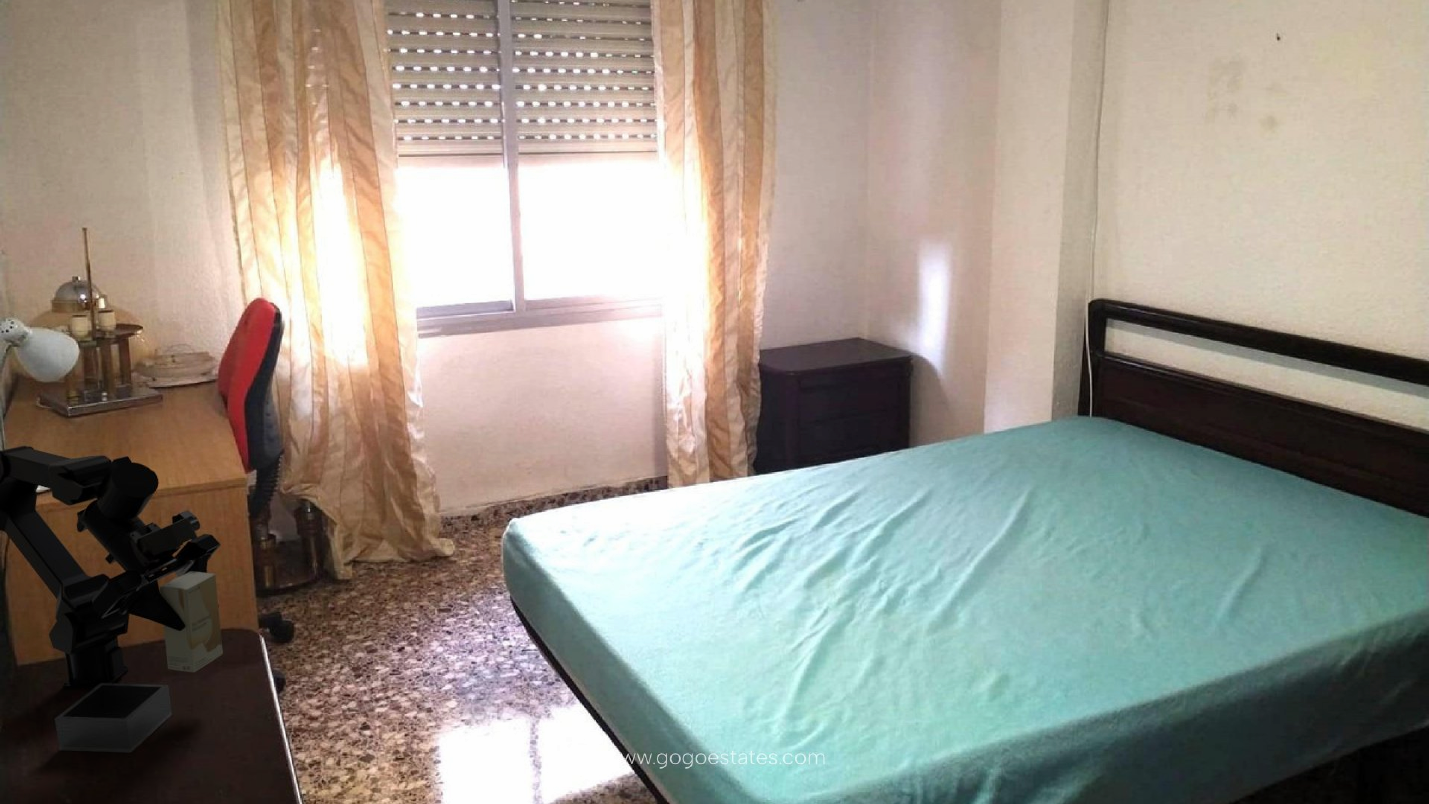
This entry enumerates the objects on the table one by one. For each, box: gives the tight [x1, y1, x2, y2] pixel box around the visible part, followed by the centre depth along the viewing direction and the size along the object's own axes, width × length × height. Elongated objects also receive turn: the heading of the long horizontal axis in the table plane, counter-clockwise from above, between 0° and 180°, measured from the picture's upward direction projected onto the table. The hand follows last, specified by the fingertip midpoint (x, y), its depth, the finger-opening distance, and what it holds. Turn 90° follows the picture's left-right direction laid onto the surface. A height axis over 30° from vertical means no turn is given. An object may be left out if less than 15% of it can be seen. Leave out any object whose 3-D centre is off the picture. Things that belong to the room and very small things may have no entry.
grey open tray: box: [54, 682, 173, 753], centre depth 142 cm, size 10×10×4 cm
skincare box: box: [159, 571, 224, 673], centre depth 147 cm, size 6×4×12 cm
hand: (200, 618), depth 147 cm, fingers closed on skincare box, 6 cm apart
